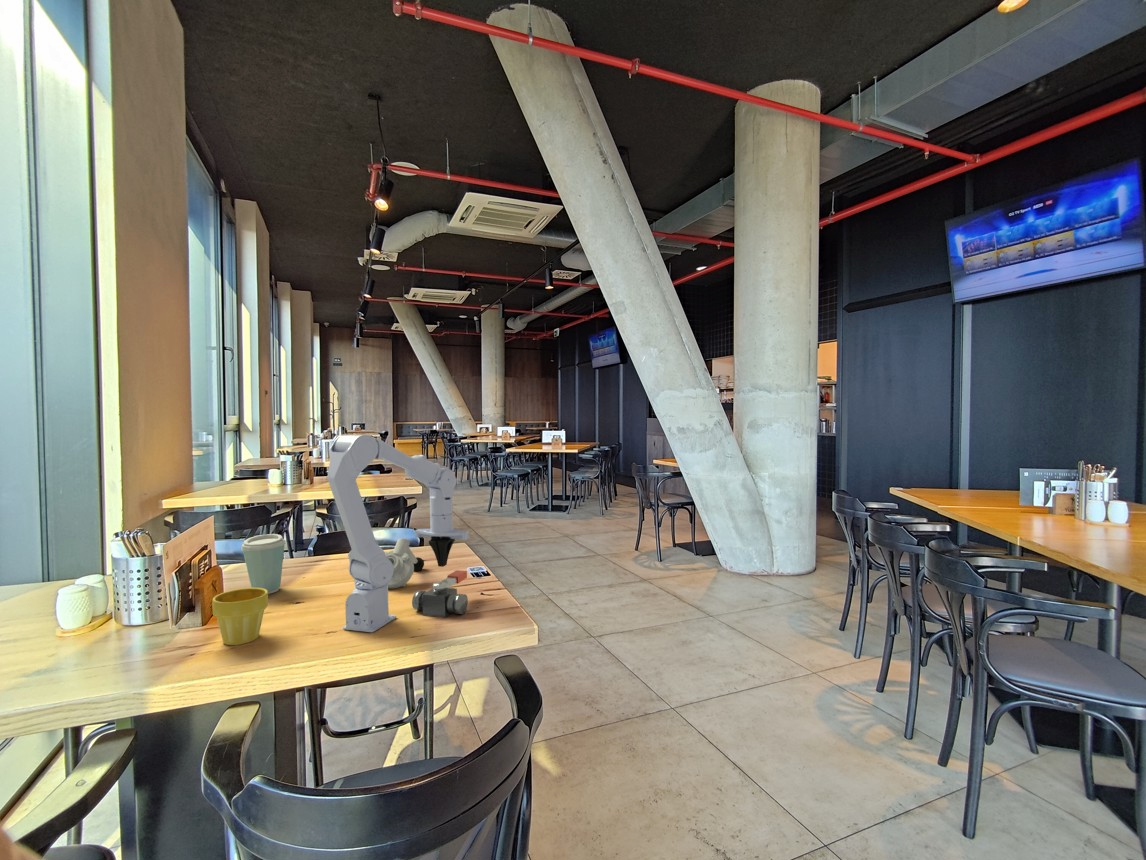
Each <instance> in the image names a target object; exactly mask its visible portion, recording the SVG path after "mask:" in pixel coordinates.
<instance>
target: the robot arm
mask: <svg viewBox="0 0 1146 860" xmlns="http://www.w3.org/2000/svg"><path fill="white" fill-rule="evenodd" d="M328 452H329V456H330V458H329V465H328V471H327V481H328V485H329V487H330V490H331V493H332V496H333V499H334V502H335V504H336V507H337V511H338V513H339V517H340V519H341V522H342V524H343V528H344V532H345V534H346V536H347V539H348V542H349V546H350V551H349V553H347V557H348V560H349V566H348V572H349V575H350V576H351V577H352V578H353V580H354V581H353V582H354V587H353V591H352V592H351V593H350V594H349V595H348V596H347V598H346V600H345V625H344V626H342V629H343V630H349V631H354V632H355V631H356V632H363V633H365V632H366V633H374V632H375V631H378V630H379V629H381V628H382V627H383V626H385V625H387V624H388V623H390V622H392V621H393V620H394V619H396V618H397V615H396V614H390V613H389V611H390V610H389V609H390V608H389V588H388V585H389V581H390V580H391V578H392V576H393V573H394V567H393V564H392V562H391V561H390V560H389V559H388V558H387V557H386V555H385V552H386V551H384V549H382V547H381V546H380V545H379V544H378V543H377V541H376V538H375V534H374V531H373V529H372V525H371V522H370V519H369V516H368V514H367V511H366V508H365V504H364V501H363V497H362V496H361V492H360V489H359V485H358V483H357V479H358V477H359V476H360V474H361V472H362V471H363V470H364V469H366V468H367V467H368V466H369V465H370V464H371V463H372V462H373V461H374V460H382V461H385V462H388V463H389V464H391V465H394V466H397V467H399V468H402V469H403V470H404V474H405V475H406V476H407V477H409V478H411V479H413V480H415V481H417V482H419V483H421V484H424V485H425V487H426V488H427V489H429V523H430V528H418V529H415V530H414V532H415V533H414V534H415V538H430V540H428V544H429V546H430V547H431V549H432V551H433V553H434V555H435V559H436V563H437V567H438V568H439V567H446V566H447V564H448V559H449V555H450V552H451V549H452V547H453V545H454V543H455V541H456V540H462V541H467V540H468V539H470V536H469V535H470V532H469V530H461V529H454V521H453V519H454V518H453V517H454V516H453V514H454V513H453V511H454V510H453V495H454V489H455V487H456V485H457V483H458V478H457V477H456V475H455V473H454V471H453V470H452V469H450V468H445V467H443V468H442V467H441V464H440V463H439V462H432V461H430V460H428V459H427V455H424V454H419V455H418V454H415V455H413V456H409V455H408V454H406V453H405V452H403V451H401V450H400V449H398V448H396V447H394V446H392V445H390V444H388V443H387V442H386V441H383V440H382V439H380V438H377V437H376V438H375V437H374V436H372V435H369V434H348V433H344V434H340V435H338V436H337V437H336V438H335V439H334V440H333V442H332V444H331V445H330V447H329V448H328Z"/></svg>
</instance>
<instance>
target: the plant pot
mask: <svg viewBox="0 0 1146 860" xmlns="http://www.w3.org/2000/svg"><path fill="white" fill-rule="evenodd" d="M211 601H212V604H211V605H212V606H211V607H212V615H213V616H215V617H216V620H217V624H218V627H219V631H220V632H219V633H220V634H221V638H222V643H223V644H224V645H227V646H239V645H243V644H247V643H250V642H253V641H255V640H256V639H258V638H259V636H260V632H261V627H262V623H263V622H262V621H263V616H264V613H265V610H266V609H267V608H268V606H269V594H268V591H267V590H266V589H263V588H251V587H243V588H236V589H231V590H227V591H224V592H221V593H219V594H217V595H215V596H214V597H213V598H212V600H211Z"/></svg>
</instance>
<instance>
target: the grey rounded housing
mask: <svg viewBox="0 0 1146 860" xmlns="http://www.w3.org/2000/svg"><path fill="white" fill-rule="evenodd" d="M410 544H411V543H410V540H409V539H407V538H404V537H403V538H398V539H397V540H396V543H395V546H394V548H393V550H390V551H384V552H385V555H386V557H387V558H388V559H389V560H390V561H391V562H392V564H393V567H394V573H393V576H392V578H391V580H390V581H389V585H388V589H398V588H399V589H400V588H401V587H402V588H404V587H405V586H406V585H407V583H408V582H409V581H410V580H411V578H412V576H413V574H414V571H415V572H420V571H422V570H423V568H424V567H425V561H424V559H422V558H421V557H418V556H415V554H414V552H413V551H412V550H411V548H410Z"/></svg>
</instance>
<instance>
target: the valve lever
mask: <svg viewBox="0 0 1146 860" xmlns="http://www.w3.org/2000/svg"><path fill="white" fill-rule="evenodd" d="M467 578H468V571H467V570H458V569H457V570H455V571H453V572H451V573H449V574H448V575H447V576H446V578H444V579H443V580H441V581H435V582H433V583H432V587H433V591H434V592H443V591H446V590H447V588H451V587H452V586H454V585H455V584H460V583H461V582H463V581H464V580H466V579H467Z"/></svg>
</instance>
